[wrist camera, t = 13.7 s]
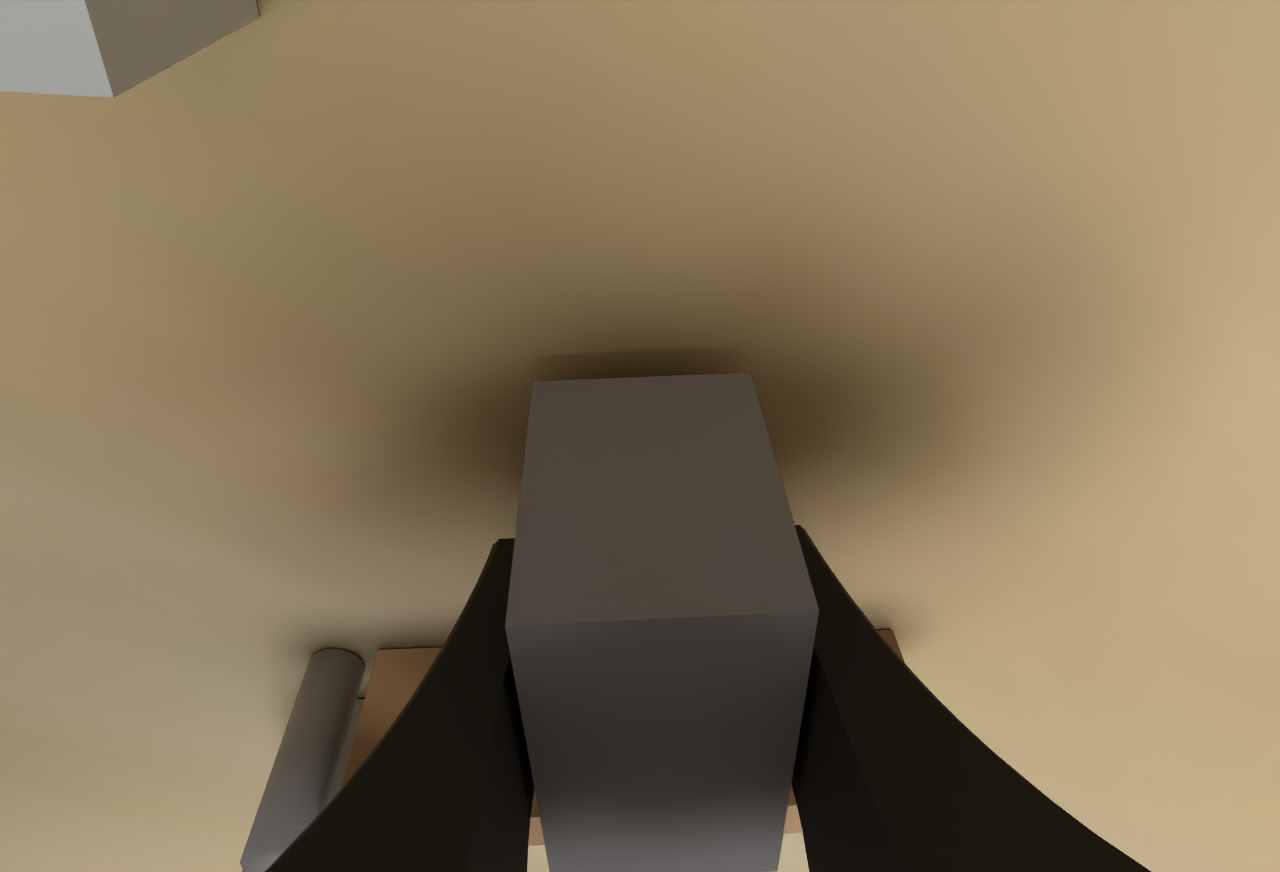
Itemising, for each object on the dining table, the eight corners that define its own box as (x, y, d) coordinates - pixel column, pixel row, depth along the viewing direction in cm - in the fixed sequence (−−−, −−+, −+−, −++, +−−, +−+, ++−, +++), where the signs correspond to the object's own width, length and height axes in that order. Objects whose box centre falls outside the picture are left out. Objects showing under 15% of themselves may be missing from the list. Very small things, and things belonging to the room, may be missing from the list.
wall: (413, 828, 23) (379, 1013, 19) (339, 829, 22) (290, 1016, 19) (121, -710, 7) (-339, -1240, 4) (-123, -742, 7) (-840, -1318, 4)
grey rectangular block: (733, 621, 17) (777, 871, 13) (562, 629, 17) (552, 884, 13) (750, 372, 13) (820, 610, 9) (532, 381, 13) (505, 625, 9)
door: (392, 700, 19) (352, 874, 16) (377, 649, 18) (330, 826, 15) (878, 679, 20) (934, 846, 16) (892, 629, 18) (955, 797, 15)
